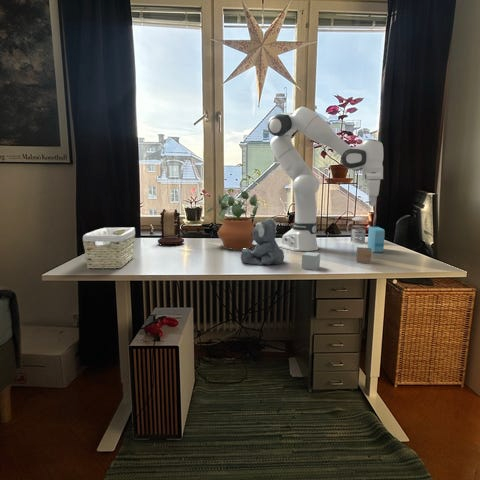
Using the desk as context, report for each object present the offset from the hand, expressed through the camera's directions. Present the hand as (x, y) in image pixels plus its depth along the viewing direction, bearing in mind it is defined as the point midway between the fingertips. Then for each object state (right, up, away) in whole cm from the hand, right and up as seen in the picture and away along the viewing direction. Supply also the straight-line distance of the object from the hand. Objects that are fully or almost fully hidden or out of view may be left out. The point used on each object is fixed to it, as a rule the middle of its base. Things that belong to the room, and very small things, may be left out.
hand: (371, 205), depth 163 cm
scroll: (-101, -19, +36) cm, 109 cm away
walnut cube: (-6, -26, -5) cm, 27 cm away
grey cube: (-32, -28, -15) cm, 45 cm away
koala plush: (-50, -26, -5) cm, 57 cm away
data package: (+9, -22, +19) cm, 30 cm away
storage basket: (-118, -27, -7) cm, 121 cm away
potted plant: (-66, -20, +29) cm, 75 cm away
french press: (+6, -18, +41) cm, 45 cm away
